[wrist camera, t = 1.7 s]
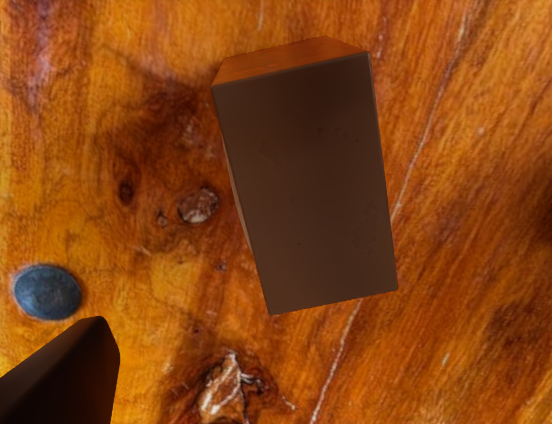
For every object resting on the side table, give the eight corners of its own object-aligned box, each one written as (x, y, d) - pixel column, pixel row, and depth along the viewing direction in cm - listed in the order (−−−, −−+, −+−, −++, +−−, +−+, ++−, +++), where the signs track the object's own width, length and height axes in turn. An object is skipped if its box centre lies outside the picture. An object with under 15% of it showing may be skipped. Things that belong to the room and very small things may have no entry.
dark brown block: (259, 222, 21) (264, 318, 14) (219, 59, 18) (202, 87, 11) (353, 202, 20) (399, 291, 14) (327, 34, 18) (370, 50, 11)
